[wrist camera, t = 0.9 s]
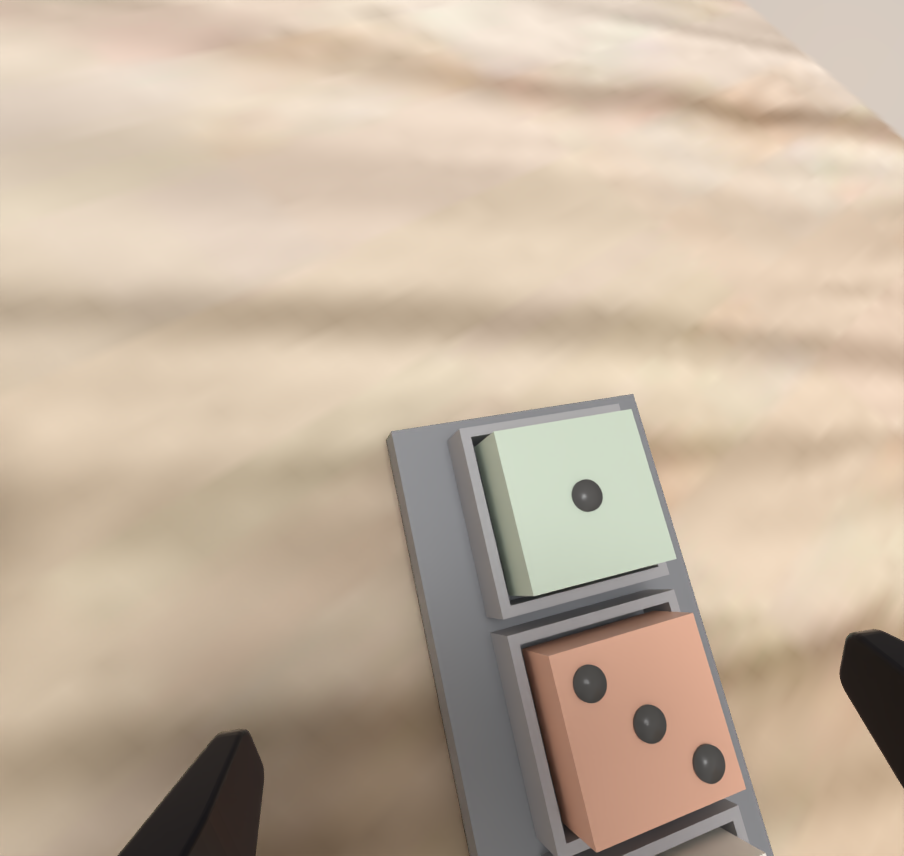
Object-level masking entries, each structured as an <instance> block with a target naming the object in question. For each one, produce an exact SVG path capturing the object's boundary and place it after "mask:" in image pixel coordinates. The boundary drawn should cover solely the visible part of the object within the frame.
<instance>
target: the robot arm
mask: <svg viewBox="0 0 904 856" xmlns="http://www.w3.org/2000/svg"><path fill="white" fill-rule="evenodd" d="M840 680H841V683H842V686H843V688H844V690H845V692H846V694H847V695H848V697H849V699H850V700H851V702H852V704H853V705H854V707H855V709H856V710H857V712H858V714H859V715H860V717H861V719H862V720H863V722H864V724H865V725H866V727H867V729H868V730H869V732H870V734H871V735H872V737H873V739H874V740H875V742H876V744H877V745H878V747H879V749H880V750H881V752H882V754H883V755H884V757H885V759H886V760H887V762H888V764H889V765H890V767H891V769H892V770H893V772H894V774H895V775H896V777H897V779H898V780H899V782H900V783H901V785H902V786H903V788H904V641H902V640H900V639H898V638H896V637H894V636H892V635H890V634H888V633H886V632H884V631H881V630H876V629H872V630H865V631H858V632H853V633H850V634H849V635H848V636H847V637H846V640H845V645H844V650H843V656H842V661H841V666H840ZM263 785H264V769H263V764H262V761H261V759H260V756H259V754H258V752H257V749H256V747H255V744H254V742H253V739H252V737H251V735H250V733H249V731H247V730H246V729H237V730H230V731H224V732H221V733H219V734H217V735H216V736H215V737H214V738H213V739H212V740H211V742H210V743H209V744H208V745H207V747H206V748H205V749H204V750H203V751H202V753H201V754H200V755H199V756H198V758H197V759H196V760H195V761H194V763H193V764H192V765H191V766H190V767H189V769H188V770H187V771H186V772H185V774H184V775H183V776H182V777H181V778H180V780H179V781H178V782H177V783H176V785H175V786H174V787H173V788H172V790H171V791H170V792H169V793H168V794H167V796H166V797H165V798H164V799H163V801H162V802H161V803H160V804H159V805H158V807H157V808H156V809H155V810H154V812H153V813H152V814H151V815H150V817H149V818H148V819H147V820H146V821H145V823H144V824H143V825H142V826H141V828H140V829H139V830H138V831H137V832H136V834H135V835H134V836H133V837H132V839H131V840H130V841H129V842H128V844H127V845H126V846H125V847H124V848H123V850H122V851H121V852H120V853H119V855H118V856H255V855H256V846H257V837H258V828H259V820H260V811H261V802H262V793H263Z"/></svg>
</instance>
